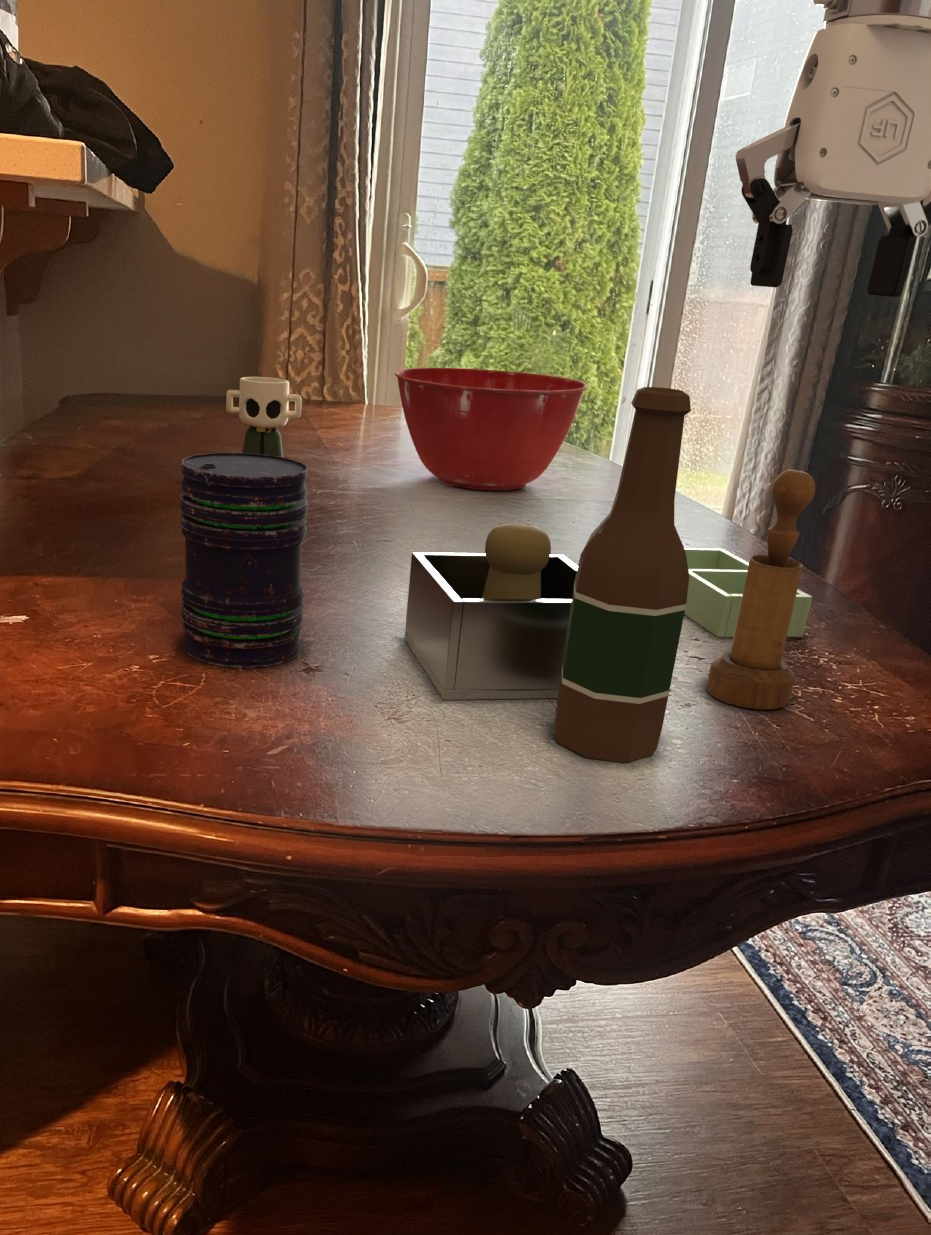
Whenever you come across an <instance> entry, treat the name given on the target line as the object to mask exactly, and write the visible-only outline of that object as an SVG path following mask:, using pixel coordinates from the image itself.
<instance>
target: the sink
mask: <svg viewBox="0 0 931 1235" xmlns="http://www.w3.org/2000/svg"><path fill="white" fill-rule="evenodd" d="M410 560H411V561H410V570H409V581H408V593H407V604H406V616H405V617H406V618H405V627H404V628H405V631H404V641H405V642H406V644H407V646H409V649H410V650H411V651H412V653H413V655H414V656H415V658H416V660H417V661H418V662H419V664H420V665H421V667H422V669H423V670H424V672H425V673H426V675H427V676H428V678H429V680H430V681H431V683H432V684H433V686H434V687H435V689H436V690H437V692H438V694H439V695H440V696H441V698H442V700H443V701H452V700H453V701H455V700H457V701H458V700H461V701H462V700H463V701H464V700H465V701H466V700H520V699H521V700H526V699H527V700H529V699H557V697H558V690H559V684H560V677H561V670H562V663H563V657H564V650H565V643H566V636H567V629H568V623H569V616H570V609H571V602H572V596H573V589H574V582H575V577H576V573H577V568H578V565H577V564H576V563H575V562H573V561H572V560H571V559H569V558H568V557H567V556H565V555H564V554H550V558H549V560H548V563H547V565H546V566H545V567H544V568H543V569H542V570H541V599H482V596H483V592H484V588H485V584H486V580H487V576H488V572H489V568H490V564H489V563H488V561H487V559H486V555H485V552H484V553H482V552H481V553H479V552H478V553H477V552H469V553H468V552H429V551H428V552H424V551H423V552H418V551H417V552H415V551H414V552H412V551H411V558H410Z"/></svg>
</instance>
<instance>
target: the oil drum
mask: <svg viewBox="0 0 931 1235" xmlns="http://www.w3.org/2000/svg"><path fill="white" fill-rule="evenodd" d="M181 474H182V475H183V478H182V479H181V494H180V496H179V497H180V511H181V521H180V524H179V525H180V527H181V534H182V535H183V537H184V550H185V551H184V553H185V555H184V556H185V557H184V560H185V561H184V562H185V568H184V569H185V577H184V579H183V580H182V582H181V590H180V595H181V604H180V606H181V608H180V609H181V610H180V611H181V619H182V621H183V622H182V629H183V631H184V636H183V639H182V641H183V642H182V646H183V650H184V652H185V654H187V655H188V656H190V657H191V658H193V659H195V660H196V661H200V662H203V663H204V664H205V663H206V664H210V665H213V666H219V667H226V668H237V669H255V668H265V667H272V666H277V665H282V664H284V663H287V662H290V661H291V660H294V659H296V657H298V655H299V654H300V653H301V645H302V644H301V642H302V641H301V639H300V635H301V633H302V623H303V621H304V604H303V603H304V599H305V592H304V585H303V583H302V582H301V571H302V546H303V542H304V540H305V539H306V532H307V530H308V527H307V525H306V524H307V517H308V502H309V501H308V499H307V492H308V491H307V490H308V486H307V484H306V481H307V480H308V466H307V464H305V463H303V462H301V461H298V460H295V459H292V458H286V457H284V456H283V457H278V456H271V455H262V454H250V453H242V452H209V453H202V454H200V453H199V454H194V455H190V456H187V457H185V458H183V459H182V460H181Z"/></svg>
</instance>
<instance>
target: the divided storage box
mask: <svg viewBox="0 0 931 1235" xmlns="http://www.w3.org/2000/svg"><path fill="white" fill-rule="evenodd" d="M684 549H685V552H686V558H687V565H688V571H689V585H688V594H687V602H686V608H685V613H684V616H686V617H688V618H689V619H690V620H692V621H693V622H695V623H696V624H698V625H699V626H700V627H702V628H703V629H705V630H706V631H708V632H709V633H710V634H712V635H714V636H715V637H716V638H734V634H735V630H736V625H737V620H738V615H739V610H740V605H741V600H742V595H743V590H744V585H745V580H746V575H747V570H748V565H749V561H746V560H745V559H743V558H741V557H740V556H737V555H735V554H733V553H732V552H730V551H728V550H726V549H724V548H709V547H708V548H707V547H705V548H704V547H702V548H701V547H684ZM812 601H813V596H812V595H810V594H808V593H806V592H804V591H802V590H801V589H799V588H798V590H797V594H796V598H795V602H794V607H793V611H792V616H791V620H790V624H789V629H788V633H787V638H803V637H804V634H805V630H806V626H807V622H808V618H809V614H810V610H811V606H812V603H813V602H812Z"/></svg>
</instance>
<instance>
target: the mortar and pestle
mask: <svg viewBox="0 0 931 1235" xmlns="http://www.w3.org/2000/svg"><path fill="white" fill-rule="evenodd" d="M815 493H816V483H815V480H814V477H813V476H812V475H810V473H808V472H805V471H802V470H797V469H787V470H784V471H783V472H781V473H780V474H779V475H777V477H776V478H775V480H774V481H773V484H772V487H771V497H772V500H773V503H774V504H773V505H774V507H775V510H776V521H775V523H774V525H772V526H771V527H769V528H767V533H766V534H767V535H766V540H767V543H766V544H767V555H765V554H756V555H751V556H750V557H749V559H748V560H749V561H748V563H749V565H748V570H747V575H746V580H745V585H744V590H743V595H742V600H741V605H740V610H739V615H738V620H737V625H736V630H735V634H734V637H733V639H732V643H731V644H732V645H731V648H730V650H729V651H726V652H724V653H722V655H720V656H718V657H715V659H713V660H712V661H711V664H710V667H709V672H708V676H707V682H706V687H705V688H706V691H707V693H708V694H709V696H711V697H713V698H714V699H717V700H718V701H721V702H723V703H725V704H728V705H731V706H735V707H739V708H745V709H753V710H759V711H760V710H762V711H763V710H764V711H765V710H766V711H767V710H768V711H770V710H777V709H781V708H784V707H786V706H787V705H788V704H789V703H790V700H791V697H792V692H793V687H794V684H795V673H794V672H793V670H791V669H790V667H789V665H788V664H787V662H785V661H784V660H783V656H784V652H785V647H786V643H787V638H788V637H787V633H788V629H789V624H790V620H791V616H792V611H793V607H794V602H795V598H796V594H797V590H798V589H799V585H800V580H801V577H802V574H803V569H804V564H803V563H802V562H799V561H797V560H794V559H791V558H789V557H790V555H791V553H792V552H793V549H794V548H795V546H796V543H797V542H798V539H799V537H800V532H799V531H798V529H797V520H798V517H799V516H800V515H801V513H803V511H804V510H805V509H806V507H807V506H808V505H809V504H810V503H811V502H812V501H813V499H814V497H815Z"/></svg>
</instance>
